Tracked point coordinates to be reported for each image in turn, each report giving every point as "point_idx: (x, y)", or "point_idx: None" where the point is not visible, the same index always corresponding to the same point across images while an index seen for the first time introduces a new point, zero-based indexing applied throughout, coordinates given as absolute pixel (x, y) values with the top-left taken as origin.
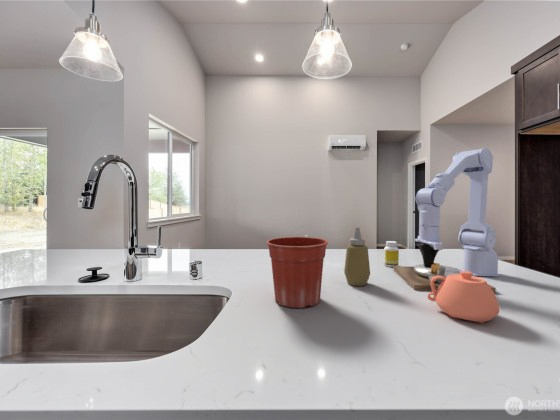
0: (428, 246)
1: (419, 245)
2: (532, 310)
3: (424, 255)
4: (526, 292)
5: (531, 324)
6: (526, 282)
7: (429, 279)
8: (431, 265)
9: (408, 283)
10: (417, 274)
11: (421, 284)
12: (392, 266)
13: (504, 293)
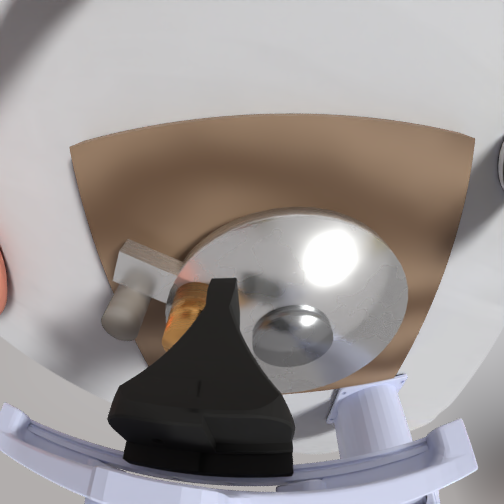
0: (130, 446)
1: (200, 427)
2: (76, 373)
3: (174, 346)
4: None
5: (9, 331)
6: None
7: (127, 242)
8: (179, 318)
9: (164, 124)
10: None
11: (86, 184)
12: (500, 156)
13: None
